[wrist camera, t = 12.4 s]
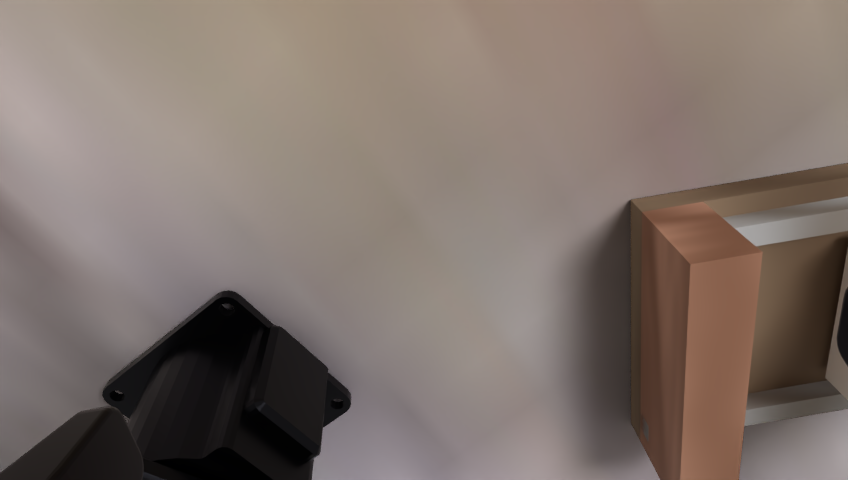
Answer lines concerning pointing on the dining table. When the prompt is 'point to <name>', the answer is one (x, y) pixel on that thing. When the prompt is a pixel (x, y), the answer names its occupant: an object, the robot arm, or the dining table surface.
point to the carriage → (837, 370)
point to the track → (780, 279)
